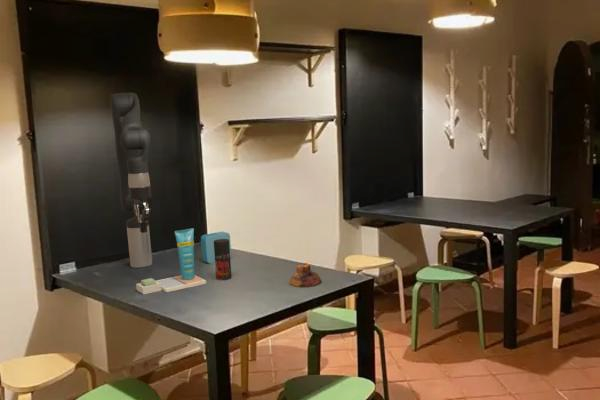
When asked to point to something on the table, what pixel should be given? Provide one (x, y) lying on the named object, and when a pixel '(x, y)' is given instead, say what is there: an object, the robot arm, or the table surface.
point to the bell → (304, 277)
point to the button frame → (148, 288)
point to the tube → (186, 252)
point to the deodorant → (222, 259)
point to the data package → (212, 245)
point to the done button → (148, 282)
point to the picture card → (179, 283)
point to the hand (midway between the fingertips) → (143, 232)
